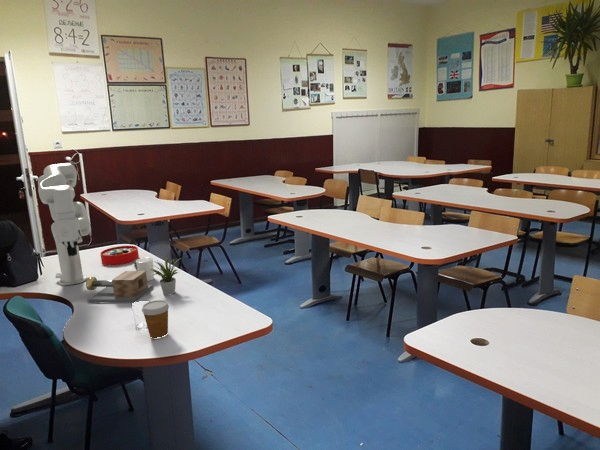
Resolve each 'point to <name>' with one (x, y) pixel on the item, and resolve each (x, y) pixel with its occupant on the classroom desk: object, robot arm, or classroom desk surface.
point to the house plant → (167, 277)
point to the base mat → (108, 296)
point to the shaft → (97, 283)
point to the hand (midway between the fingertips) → (72, 255)
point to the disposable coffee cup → (156, 317)
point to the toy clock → (119, 255)
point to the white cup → (146, 267)
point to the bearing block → (129, 284)
